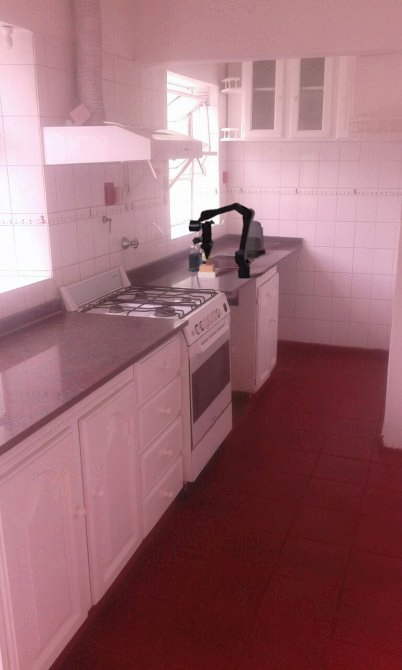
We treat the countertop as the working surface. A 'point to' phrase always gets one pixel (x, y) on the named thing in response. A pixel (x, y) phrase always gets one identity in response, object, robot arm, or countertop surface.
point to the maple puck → (205, 257)
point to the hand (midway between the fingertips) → (207, 258)
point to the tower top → (207, 267)
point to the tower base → (207, 274)
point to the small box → (195, 261)
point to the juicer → (255, 240)
